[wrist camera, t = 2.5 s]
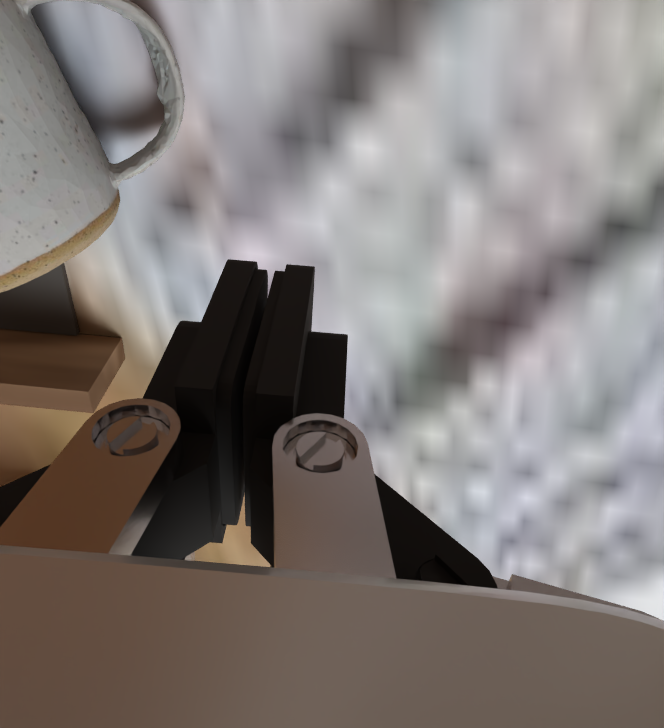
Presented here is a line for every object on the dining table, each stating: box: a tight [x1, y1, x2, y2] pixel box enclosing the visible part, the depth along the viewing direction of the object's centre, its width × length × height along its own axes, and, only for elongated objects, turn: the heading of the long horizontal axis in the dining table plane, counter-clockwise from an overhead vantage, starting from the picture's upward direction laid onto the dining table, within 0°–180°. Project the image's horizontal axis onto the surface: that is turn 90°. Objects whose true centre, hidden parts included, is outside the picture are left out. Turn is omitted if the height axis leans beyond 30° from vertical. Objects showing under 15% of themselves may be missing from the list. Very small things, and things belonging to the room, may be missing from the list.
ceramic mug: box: [0, 0, 185, 293], centre depth 19 cm, size 11×8×8 cm
